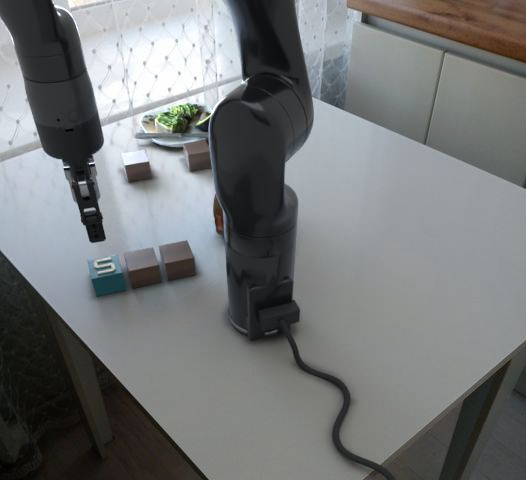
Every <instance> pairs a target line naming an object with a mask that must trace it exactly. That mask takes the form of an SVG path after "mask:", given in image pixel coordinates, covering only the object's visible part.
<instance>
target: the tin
mask: <svg viewBox="0 0 526 480" xmlns="http://www.w3.org/2000/svg"><path fill="white" fill-rule="evenodd" d="M213 197H214V198H213V204H212V213H213V219H214V224H215V225H214V226H215V232H216V233H217V235H219V236H224V219H223V210H222V207H221V206H220V204H219V202H218V199H217V197H216V193H214V196H213Z"/></svg>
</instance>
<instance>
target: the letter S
mask: <svg viewBox="0 0 526 480" xmlns="http://www.w3.org/2000/svg"><path fill="white" fill-rule="evenodd" d="M86 261H87V265H88V272H89V277H90V280H91V283H92V287H93V290H94V294H95V297H101V296H106V295H109V294H115V293H119V292H124V291H127V285H126V281H125V277H124V273H123V269H122V266H121V262H120V258H119V253H118V254H112V255H107V256H102V257H97V258H92V259H87V260H86Z"/></svg>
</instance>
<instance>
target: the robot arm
mask: <svg viewBox="0 0 526 480" xmlns="http://www.w3.org/2000/svg"><path fill="white" fill-rule="evenodd" d="M221 1H222V3H223V5H224V7H225V8H226V11H227V13H228V15H229V18H230V20H231V24H232V27H233V32H234V36H235V39H236V45H237V50H238V51H237V52H238V58H239V62H240V63H239V65H240V73H241V84H239V85H238V86H237V87H235V88H234V89H233V90H231V91H230V92H228V93H227V94H226V95H225V96H223V97H222V98H220V100H219V101H218V102H217V103H216V104H215V105H214V107H213V108H212V109H213V111H212V113H211V117H210V121H209V142H208V146H209V148H210V157H211V165H212V168H211V171H212V179H213V187H214V192H215V193H216V197H217V199H218V202H219V204H220V206H221V207H222V210H223V219H224V235H223V237H224V254H225V269H226V271H225V273H226V284H227V285H226V286H227V287H226V288H227V303H228V308H227V313H228V320H229V322H230V324H231V326H232V327H233V328H234V329H235V330H236V331H238V332H239V333H241V334H243V335H246V336H247V337H248V339H249V340H250V341H255V340H258V339H263V338H266V337H273V336H275V335H279V334H283V333H284V335H285V337H286V340H287V342H288V344H289V346H290V349H291V352H292V355H293V358H294V362H296V364H297V365H298V367H299V368H300V369H302V370H303V371H304V372H306V373H308V374H310V375H312V376H315V377H316V378H319V379H323V380H325V381H328V382H331V383H333V384H334V385H336V386H338V387H339V389H340V390H341V392H342V393H343V404H342V406H341V409H340V411H339V412H338V415H337V417H336V419H335V421H334V423H333V427H332V433H331V434H332V435H331V436H332V440H333V444H334V446H335V447H336V449H337V450H338V452H339V453H340V454H341V455H343V456H344V457H346V458H347V459H348V460H350V461H352V462H354V463H357V464H359V465H361V466H364V467H366V468H369V469H372V470H374V471H376V472H377V473H379V474H380V475H382V476H383V477H384V478H385V479H386V480H397V479H396V477H395V476H394V475H393V474H392V472H390V471H389V470H388V469H387V468H386V467H384V466H383V465H381V464H379V463H378V462H375V461H372V460H370V459H368V458H365V457H361V456H359V455H357V454H355V453H353V452H352V451H350V450H348V449H347V448H346V446H344V445H343V443H342V441H341V439H340V428H341V425H342V423H343V421H344V419H345V417H346V415H347V413H348V411H349V408H350V404H351V400H352V399H351V392H350V390H349V388H348V386H347V385H346V383H344V382H343V381H342V379H339V378H338V377H336V376H334V375H332V374H329V373H325V372H322V371H319V370H317V369H314V368H312V367H311V366H309V365H308V364H307V363H306V362H304V361H303V359H302V358H301V355H300V351H299V348H298V346H297V343H296V340H295V338H294V336H293V335H292V334H293V333H292V332H291V329H292V324H296V323H299V322H300V320H301V319H300V318H301V309H300V307H299V305H298V303H297V301H296V300H295V299H294V285H295V284H294V283H295V267H296V253H297V252H296V249H297V234H298V233H297V232H298V219H299V198H298V195H297V193H296V192H295V190H294V189H293V188H292V187H291V186H290V185H289V184H287V183H286V182H285V181H286V179H285V178H286V177H285V175H286V164H287V163H288V162H289V160H291V158H292V157H293V156H295V155H296V154H297V153H298V152H299V151H300V150H301V148H303V147H304V145H305V144H306V142H307V141H308V139H309V137H310V135H311V133H312V130H313V127H314V119H315V110H314V100H313V93H312V87H311V83H310V82H311V81H310V77H309V73H308V68H307V63H306V58H305V53H304V48H303V42H302V39H301V33H300V28H299V27H300V26H299V22H298V21H299V20H298V15H297V7H296V0H221ZM0 20H1V21H2V23H3V24H4V26H5V28H6V29H7V31H8V33H9V35H10V37H11V40H12V44H13V48H14V51H15V55H16V59H17V62H18V65H19V68H20V71H21V74H22V78H23V83H24V90H25V95H26V99H27V102H28V105H29V109H30V112H31V115H32V119H33V122H34V125H35V129H36V131H37V134H38V138H39V141H40V144H41V148H42V150H43V152H44V153H45V154H46V155H47V156H49V157H51V158H53V159H56V160H61V162H62V166H63V167H62V168H63V173H64V177H65V180H66V181H67V182H68V184H69V188H70V193H71V196H72V200H73V202H74V203H75V204H77V208H78V211H79V214H80V215H79V216H80V222H81V224H82V226H84V227H85V230H86V235H87V238H88V241H89V242H90V243H91V244H95V243H100V242H104V241H106V239H107V237H106V233H105V228H104V223H103V220H104V217H103V213H102V211H101V209H100V205H99V201H100V200H101V192H100V187H99V183H98V179H97V177H98V171H97V167H96V162H95V159H94V155H95V154H96V153H98V152H100V150H102V148H103V146H104V143H105V138H104V132H103V128H102V124H101V118H100V113H99V109H98V105H97V99H96V95H95V91H94V87H93V83H92V80H91V77H90V75H89V72H88V67H87V63H86V59H85V54H84V50H83V49H84V48H83V46H82V42H81V41H82V40H81V36H80V32H79V28H78V26H77V25H78V24H77V23H76V20H75V19H74V17H73V15H72V13H71V12H69V10H67V9H65V8H64V7H61V6H59V5H55V3H54V1H53V0H0ZM215 193H214V194H215ZM87 209H88V210H87ZM89 209H90V210H89ZM91 209H92V210H91ZM85 210H86V211H85Z"/></svg>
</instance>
